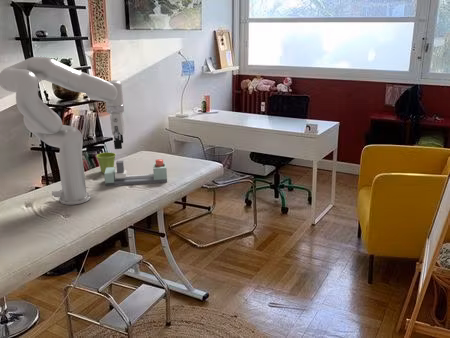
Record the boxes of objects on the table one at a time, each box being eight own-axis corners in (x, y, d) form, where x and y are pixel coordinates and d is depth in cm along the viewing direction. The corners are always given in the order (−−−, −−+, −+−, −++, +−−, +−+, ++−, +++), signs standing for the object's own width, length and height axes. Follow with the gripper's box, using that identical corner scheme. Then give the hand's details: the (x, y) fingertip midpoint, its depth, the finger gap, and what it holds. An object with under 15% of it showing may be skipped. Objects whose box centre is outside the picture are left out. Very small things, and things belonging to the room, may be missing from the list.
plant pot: (119, 168, 227) (118, 152, 225) (113, 174, 219) (112, 157, 216) (102, 168, 228) (100, 152, 226) (95, 174, 219) (93, 157, 217)
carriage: (115, 178, 205) (113, 163, 202) (116, 174, 210) (114, 160, 208) (126, 177, 205) (124, 163, 203) (126, 173, 211) (125, 159, 209)
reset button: (155, 167, 207) (155, 161, 206) (155, 165, 211) (155, 159, 210) (163, 167, 208) (163, 161, 207) (163, 165, 211) (163, 158, 210)
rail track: (105, 186, 203) (104, 171, 201) (107, 179, 212) (106, 165, 210) (167, 182, 207) (166, 167, 205) (166, 175, 216) (165, 162, 214)
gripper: (122, 112, 190) (126, 150, 196) (124, 104, 207) (128, 140, 212) (104, 113, 189) (109, 151, 195) (108, 105, 206) (112, 141, 211)
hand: (119, 145), depth 204 cm, fingers open, 9 cm apart
